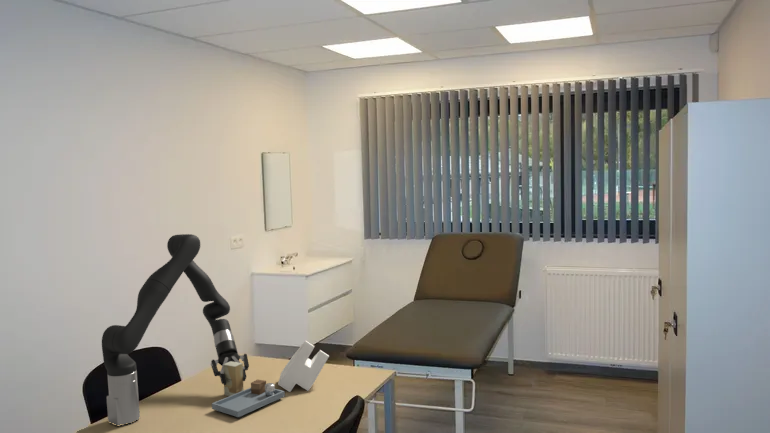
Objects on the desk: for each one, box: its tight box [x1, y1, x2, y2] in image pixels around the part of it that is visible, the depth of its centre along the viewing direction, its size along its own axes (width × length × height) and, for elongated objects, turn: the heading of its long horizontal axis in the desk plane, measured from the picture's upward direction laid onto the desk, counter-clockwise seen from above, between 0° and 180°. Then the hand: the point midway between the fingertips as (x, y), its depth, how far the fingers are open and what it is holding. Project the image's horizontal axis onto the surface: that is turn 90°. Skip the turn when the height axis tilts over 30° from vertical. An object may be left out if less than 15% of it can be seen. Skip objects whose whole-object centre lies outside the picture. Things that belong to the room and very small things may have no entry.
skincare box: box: [223, 361, 244, 397], centre depth 228 cm, size 6×4×12 cm
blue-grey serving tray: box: [211, 387, 286, 419], centre depth 217 cm, size 22×14×3 cm, turn 144°
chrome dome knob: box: [265, 382, 276, 397], centre depth 221 cm, size 4×4×4 cm
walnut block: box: [250, 379, 267, 395], centre depth 225 cm, size 4×4×4 cm
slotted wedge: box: [277, 340, 330, 393], centre depth 236 cm, size 14×11×18 cm
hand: (234, 382), depth 226 cm, fingers closed on skincare box, 6 cm apart
